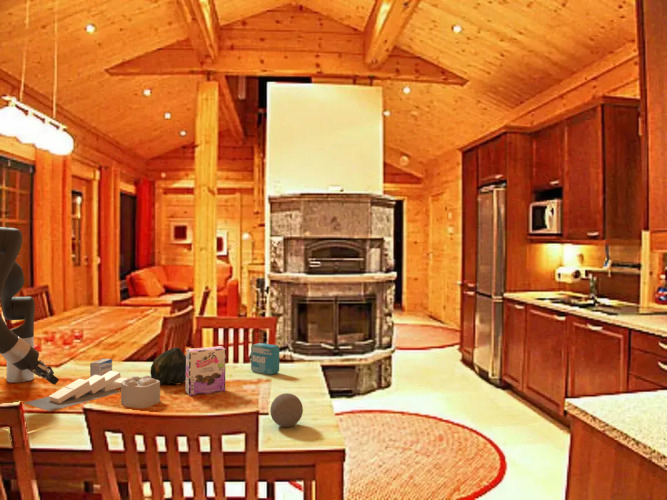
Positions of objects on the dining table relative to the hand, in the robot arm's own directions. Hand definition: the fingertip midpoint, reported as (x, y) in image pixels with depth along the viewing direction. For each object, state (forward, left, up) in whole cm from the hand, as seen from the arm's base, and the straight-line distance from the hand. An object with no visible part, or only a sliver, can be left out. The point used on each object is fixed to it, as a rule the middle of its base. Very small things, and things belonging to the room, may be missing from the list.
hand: (55, 382), depth 182 cm
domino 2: (0, +6, -6) cm, 8 cm away
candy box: (+32, +39, -8) cm, 51 cm away
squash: (+12, +40, -8) cm, 42 cm away
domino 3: (0, +12, -6) cm, 13 cm away
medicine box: (-11, +25, -8) cm, 28 cm away
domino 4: (0, +17, -6) cm, 18 cm away
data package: (+32, +74, -8) cm, 81 cm away
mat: (0, +7, -7) cm, 10 cm away
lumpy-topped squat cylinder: (+22, +17, -8) cm, 29 cm away
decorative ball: (+79, +27, -8) cm, 84 cm away
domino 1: (0, -1, -6) cm, 6 cm away
